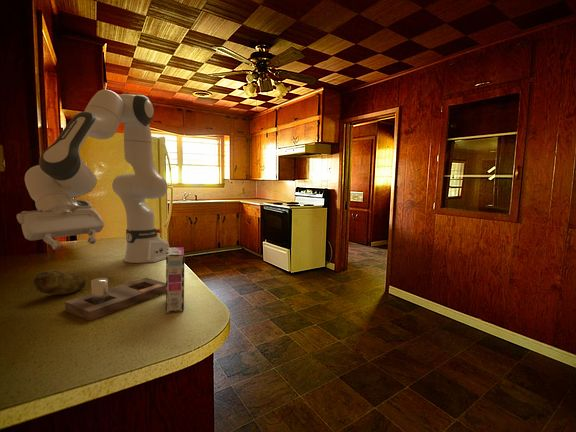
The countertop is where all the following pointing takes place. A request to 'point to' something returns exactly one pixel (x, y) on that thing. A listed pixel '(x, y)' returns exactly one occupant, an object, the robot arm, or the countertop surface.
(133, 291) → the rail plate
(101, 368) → the countertop surface
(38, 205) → the robot arm
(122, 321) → the countertop surface
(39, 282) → the potato
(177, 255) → the candy bar box
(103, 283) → the metal peg
